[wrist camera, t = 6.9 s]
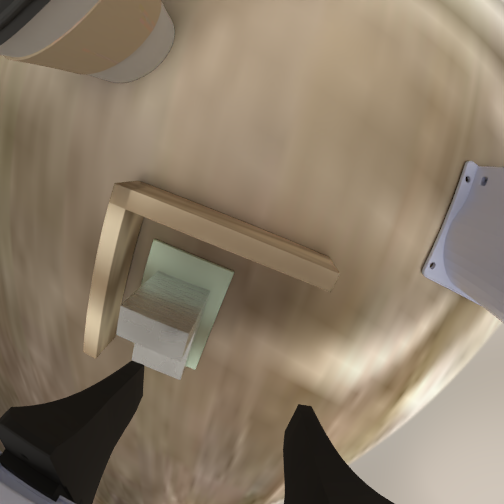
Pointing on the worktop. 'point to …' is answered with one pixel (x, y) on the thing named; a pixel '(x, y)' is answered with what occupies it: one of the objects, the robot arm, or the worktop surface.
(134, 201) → the wooden corner frame
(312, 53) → the worktop surface
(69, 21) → the coffee cup
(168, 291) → the block
